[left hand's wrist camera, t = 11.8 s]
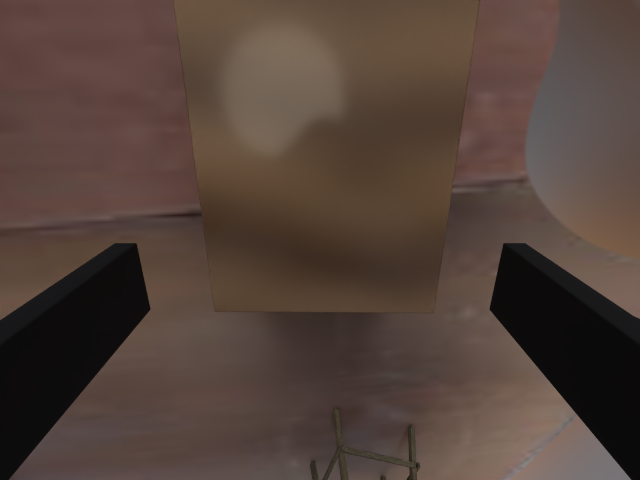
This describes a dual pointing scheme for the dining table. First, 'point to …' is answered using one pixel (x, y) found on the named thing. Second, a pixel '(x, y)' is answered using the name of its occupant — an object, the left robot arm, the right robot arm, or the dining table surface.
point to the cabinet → (325, 147)
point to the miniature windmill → (366, 454)
